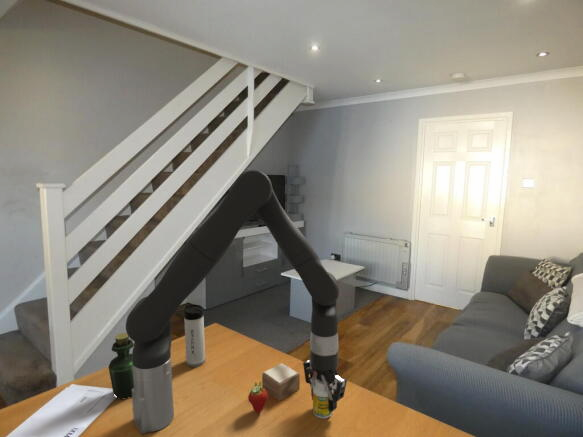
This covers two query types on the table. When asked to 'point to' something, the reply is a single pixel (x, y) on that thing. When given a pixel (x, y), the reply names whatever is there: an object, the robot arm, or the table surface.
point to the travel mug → (194, 335)
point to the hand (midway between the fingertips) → (323, 404)
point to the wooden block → (281, 381)
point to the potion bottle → (122, 367)
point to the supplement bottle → (320, 400)
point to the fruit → (258, 397)
